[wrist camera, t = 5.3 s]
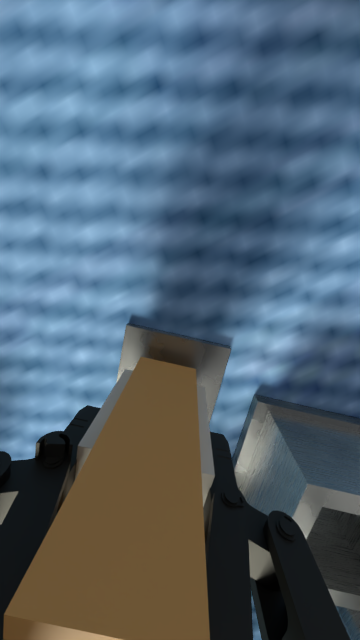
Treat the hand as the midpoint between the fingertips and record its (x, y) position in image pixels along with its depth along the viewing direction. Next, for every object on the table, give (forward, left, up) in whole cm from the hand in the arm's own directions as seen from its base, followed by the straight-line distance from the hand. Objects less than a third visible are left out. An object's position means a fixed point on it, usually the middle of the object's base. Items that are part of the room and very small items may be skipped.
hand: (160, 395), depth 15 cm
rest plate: (0, 0, -3) cm, 3 cm away
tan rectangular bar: (0, 0, -1) cm, 1 cm away
